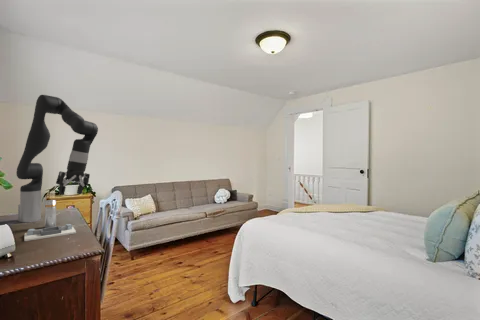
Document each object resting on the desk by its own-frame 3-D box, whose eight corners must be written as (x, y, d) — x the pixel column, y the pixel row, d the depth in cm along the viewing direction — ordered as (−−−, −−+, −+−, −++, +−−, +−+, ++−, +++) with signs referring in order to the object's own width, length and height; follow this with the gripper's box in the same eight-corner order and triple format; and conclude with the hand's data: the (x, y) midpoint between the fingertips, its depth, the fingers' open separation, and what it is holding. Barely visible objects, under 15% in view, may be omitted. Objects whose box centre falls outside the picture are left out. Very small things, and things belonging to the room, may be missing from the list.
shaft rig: (24, 241, 107) (24, 234, 107) (24, 235, 115) (24, 228, 115) (76, 233, 120) (76, 227, 120) (72, 228, 128) (73, 222, 128)
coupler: (42, 228, 127) (42, 201, 127) (49, 225, 132) (50, 199, 132) (50, 228, 127) (51, 201, 127) (58, 226, 131) (58, 199, 131)
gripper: (86, 161, 127) (79, 192, 126) (58, 157, 114) (49, 192, 113) (96, 163, 125) (89, 195, 124) (69, 160, 111) (60, 195, 110)
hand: (70, 193), depth 118 cm, fingers open, 8 cm apart
